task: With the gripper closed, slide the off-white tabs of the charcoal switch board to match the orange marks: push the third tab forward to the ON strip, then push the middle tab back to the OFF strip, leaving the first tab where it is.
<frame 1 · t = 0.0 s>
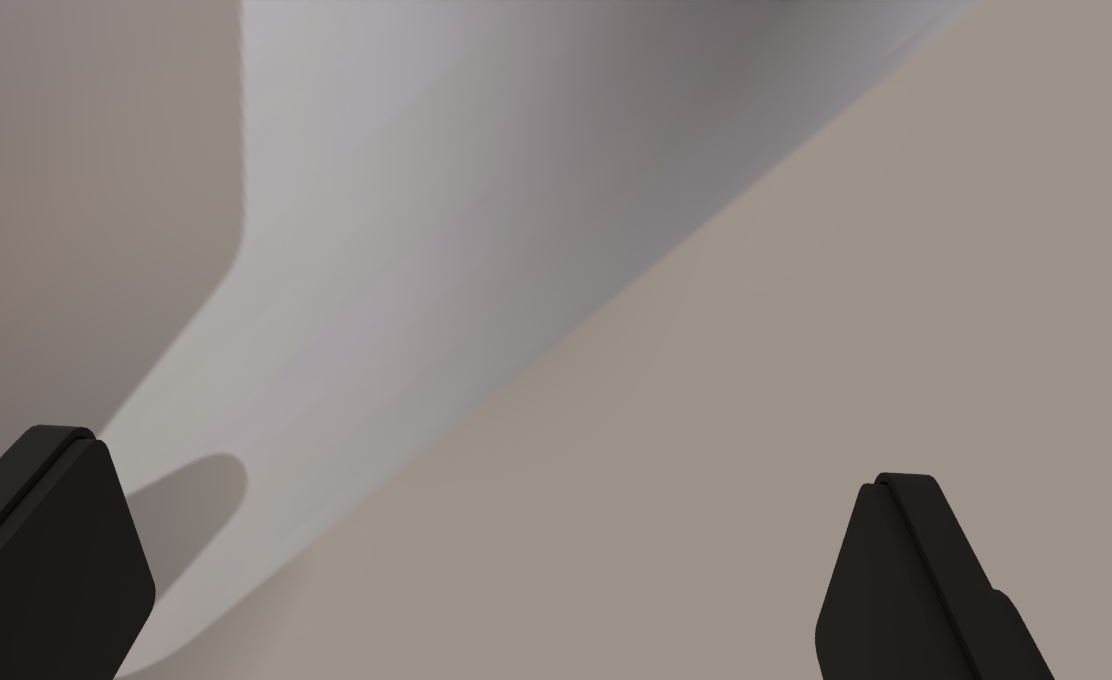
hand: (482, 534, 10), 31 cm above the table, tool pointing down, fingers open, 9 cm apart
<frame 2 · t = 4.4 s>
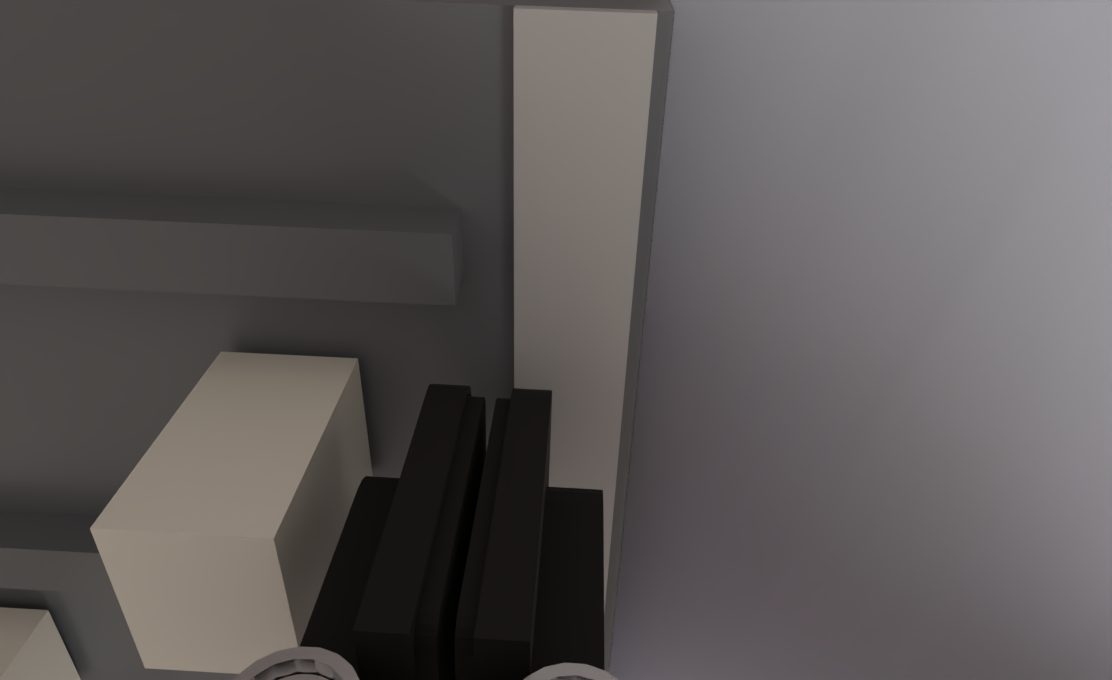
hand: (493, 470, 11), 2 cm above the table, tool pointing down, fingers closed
switch board: (219, 608, 16), on the table
tab 3: (259, 501, 11), point 3 cm above the table, slide at -2.9 cm, touching gripper
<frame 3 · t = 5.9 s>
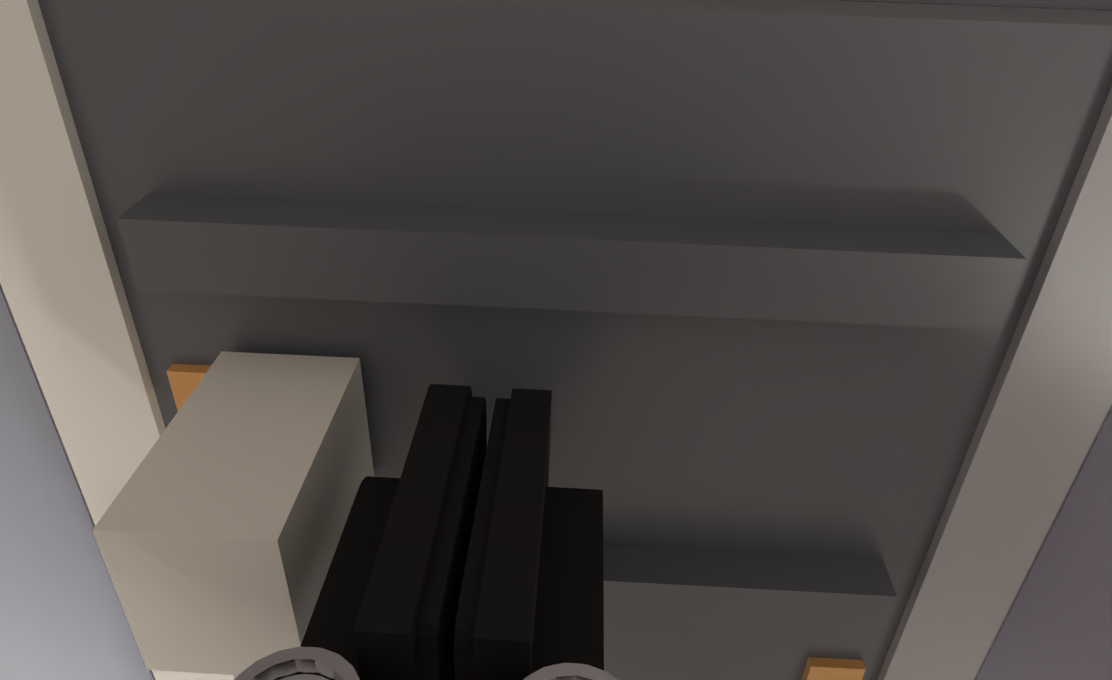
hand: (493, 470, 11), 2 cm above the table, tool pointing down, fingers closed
switch board: (552, 626, 16), on the table
tab 3: (261, 502, 11), point 3 cm above the table, slide at 3.9 cm, touching gripper
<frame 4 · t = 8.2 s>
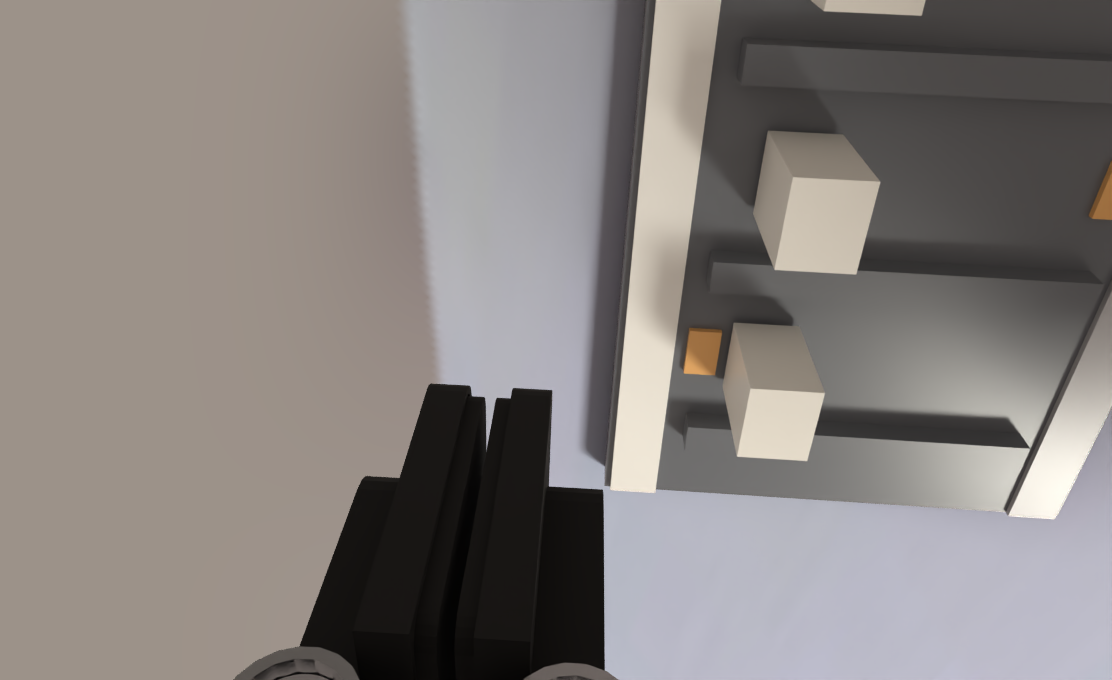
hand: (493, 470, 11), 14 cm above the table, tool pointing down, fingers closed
tab 2: (810, 199, 21), point 3 cm above the table, slide at 3.5 cm
switch board: (911, 166, 23), on the table
tab 1: (769, 389, 24), point 3 cm above the table, slide at 3.5 cm
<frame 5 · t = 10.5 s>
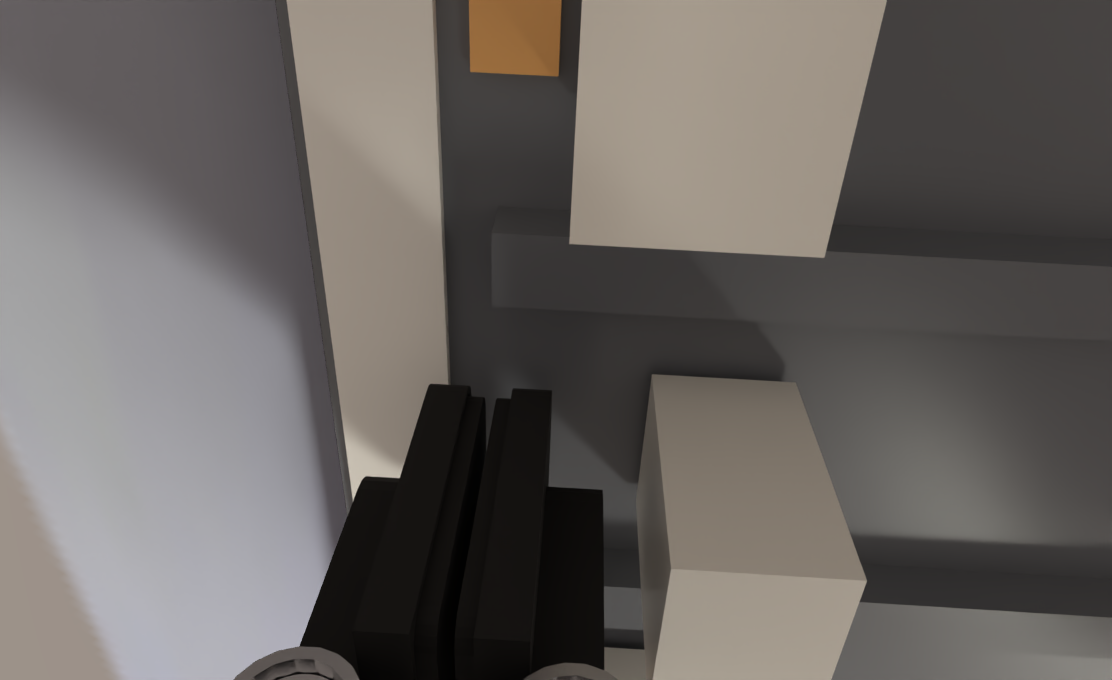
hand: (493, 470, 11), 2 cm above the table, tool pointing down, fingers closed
tab 2: (727, 532, 10), point 3 cm above the table, slide at 2.3 cm, touching gripper
switch board: (848, 404, 13), on the table
tab 3: (693, 42, 7), point 3 cm above the table, slide at 3.6 cm
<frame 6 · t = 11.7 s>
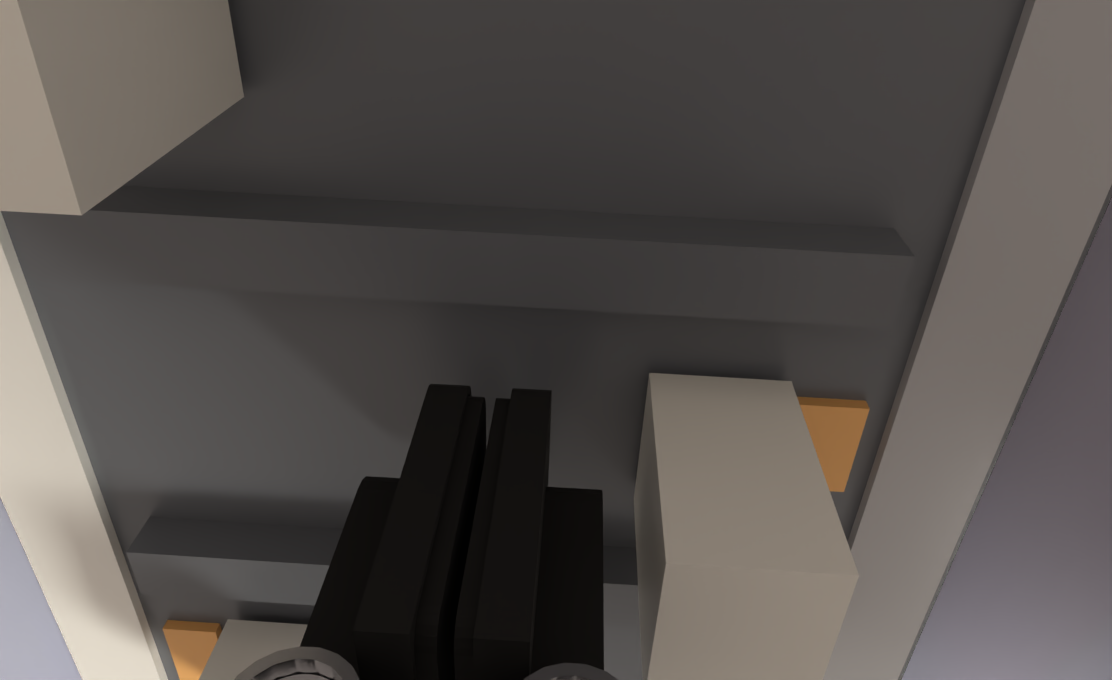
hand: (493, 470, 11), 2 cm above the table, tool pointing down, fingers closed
tab 2: (723, 529, 10), point 3 cm above the table, slide at -3.6 cm, touching gripper
switch board: (477, 382, 13), on the table
tab 3: (42, 12, 7), point 3 cm above the table, slide at 3.6 cm
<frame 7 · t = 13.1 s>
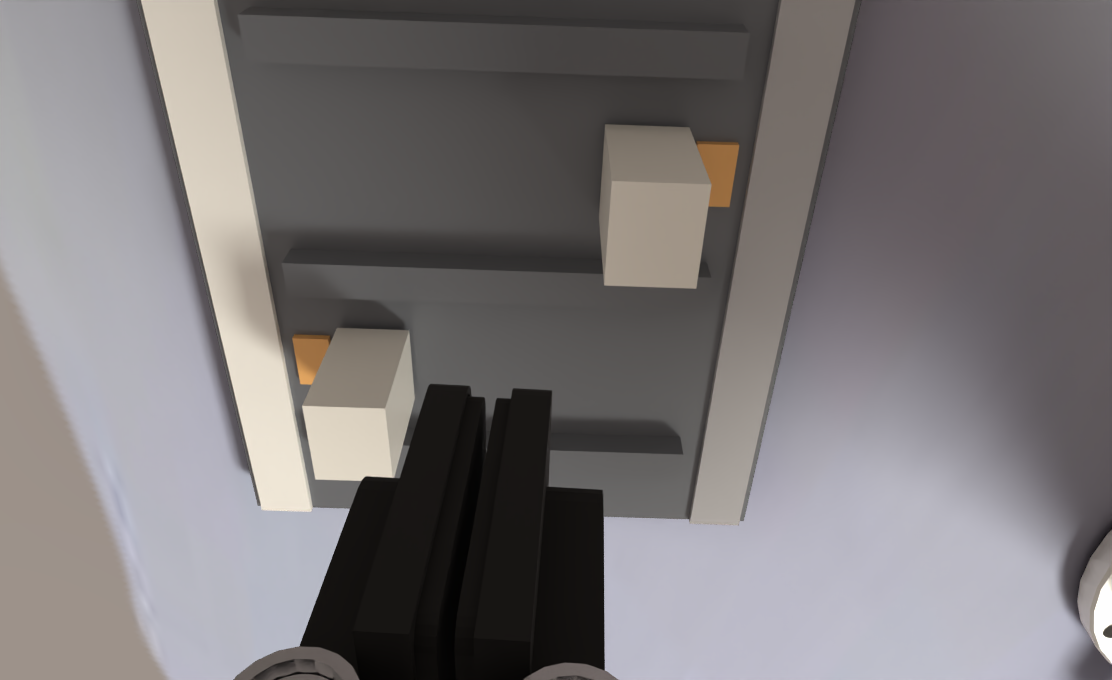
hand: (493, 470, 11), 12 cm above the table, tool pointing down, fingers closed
tab 2: (648, 202, 18), point 3 cm above the table, slide at -3.6 cm
switch board: (501, 151, 21), on the table
tab 1: (364, 402, 21), point 3 cm above the table, slide at 3.5 cm
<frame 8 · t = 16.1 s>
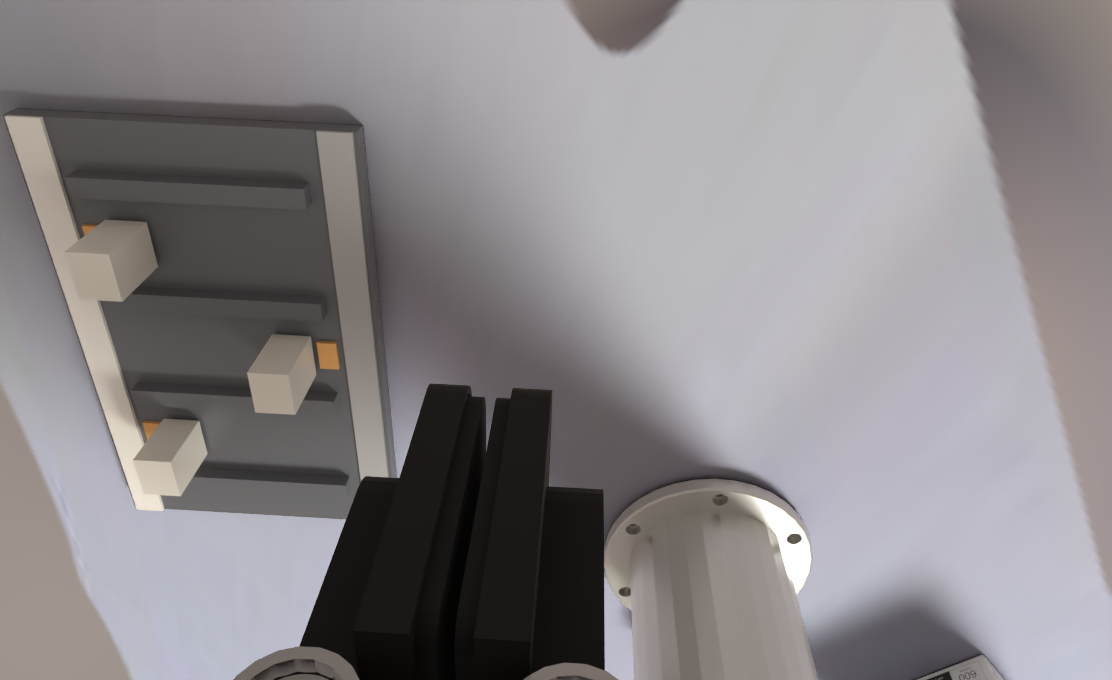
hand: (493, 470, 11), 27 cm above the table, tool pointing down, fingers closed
tab 2: (283, 373, 40), point 3 cm above the table, slide at -3.6 cm
switch board: (236, 338, 43), on the table
tab 1: (171, 456, 44), point 3 cm above the table, slide at 3.5 cm
tab 3: (113, 259, 37), point 3 cm above the table, slide at 3.6 cm
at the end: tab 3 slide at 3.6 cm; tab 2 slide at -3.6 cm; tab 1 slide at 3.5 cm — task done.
